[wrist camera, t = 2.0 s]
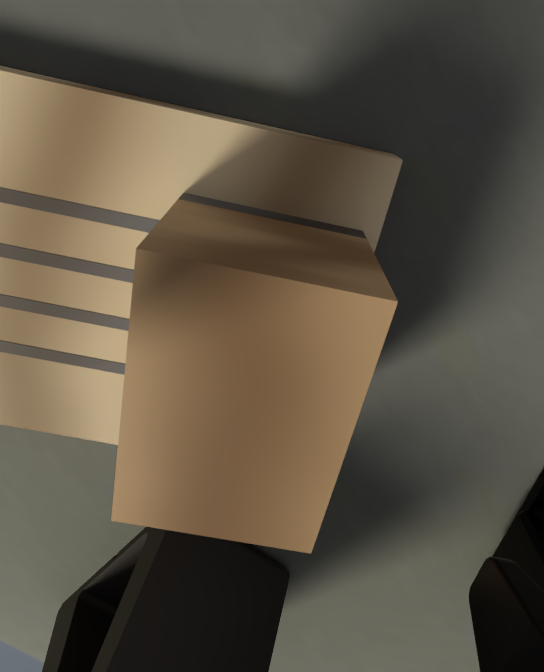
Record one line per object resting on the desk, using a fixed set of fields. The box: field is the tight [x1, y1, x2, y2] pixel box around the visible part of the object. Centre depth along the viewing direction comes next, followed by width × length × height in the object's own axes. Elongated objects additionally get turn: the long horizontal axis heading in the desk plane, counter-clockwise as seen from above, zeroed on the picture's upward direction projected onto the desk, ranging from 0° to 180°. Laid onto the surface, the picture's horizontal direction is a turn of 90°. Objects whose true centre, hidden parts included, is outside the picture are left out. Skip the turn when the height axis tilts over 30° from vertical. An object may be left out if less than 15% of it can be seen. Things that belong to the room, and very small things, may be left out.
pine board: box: [0, 66, 403, 445], centre depth 16 cm, size 18×11×1 cm, turn 78°
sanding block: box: [111, 193, 398, 554], centre depth 13 cm, size 5×7×5 cm
